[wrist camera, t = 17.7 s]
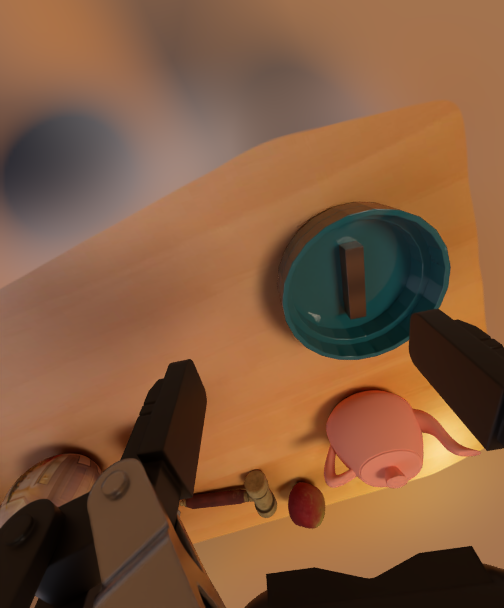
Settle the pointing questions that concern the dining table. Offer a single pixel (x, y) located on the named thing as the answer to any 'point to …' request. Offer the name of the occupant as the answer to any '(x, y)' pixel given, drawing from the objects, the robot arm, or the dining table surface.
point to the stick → (353, 279)
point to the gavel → (239, 496)
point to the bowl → (378, 279)
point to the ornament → (51, 483)
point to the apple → (306, 505)
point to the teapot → (381, 440)
